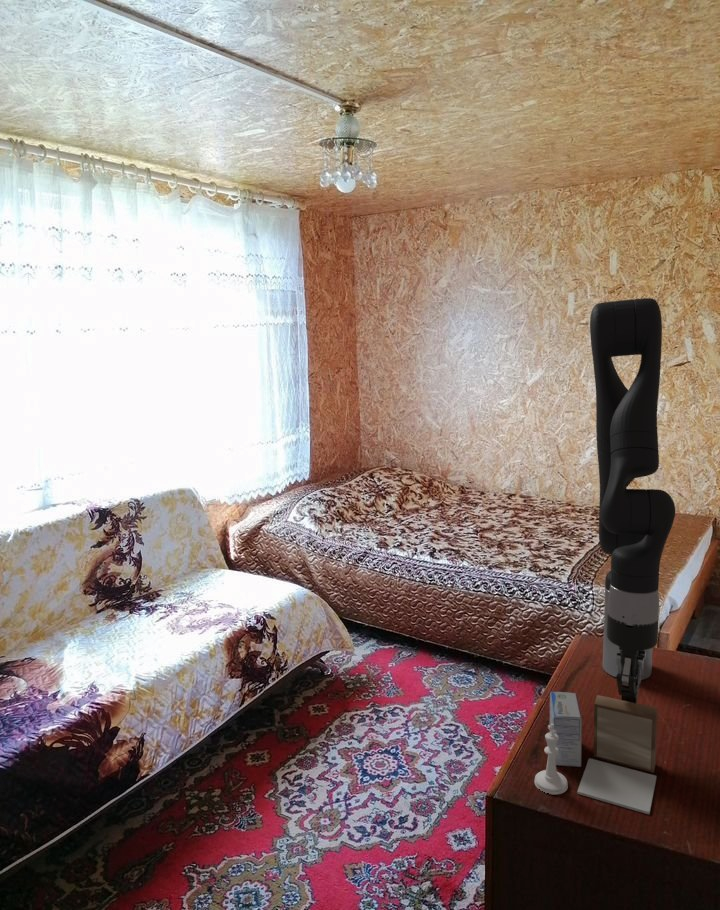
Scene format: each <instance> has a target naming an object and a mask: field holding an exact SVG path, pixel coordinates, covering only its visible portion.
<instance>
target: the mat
mask: <svg viewBox="0 0 720 910" xmlns="http://www.w3.org/2000/svg"><path fill="white" fill-rule="evenodd" d="M582 774H583V775H582V777H581V780H580V781H579V786H578V788H577V791H576V794H577V795H580V796H584V797H587V798H589V799H594V800H597V801H601V802H604V803H608V804H611V805H615V806H618V807H622V808H624V809H629V810H631V811H636V812H638V813H642V814H645V815H650V813H651V808H652V803H653V799H654V798H653V797H654V793H655V787H656V783H657V775H655V774H650V773H647V772H643V771H641V770H640V771H639V770H637V769H632V768H628V767H626V766H620V765H617V764H614V763H613V764H612V763H611V762H610V763H609V762H606V761H601V760H598V759H594V758H591V757H589V758H588V759H587V763H586V766H585V769H584V771H583V773H582Z"/></svg>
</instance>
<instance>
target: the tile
mask: <svg viewBox="0 0 720 910" xmlns="http://www.w3.org/2000/svg"><path fill="white" fill-rule="evenodd" d="M593 704H594V706H593V707H594V708H593V712H594V713H593V758H596V759H600V760H603V761H605V762H606V761H607V762H610V763H613V764H614V763H615V764H618V765H622V766H624V767H630V768H633V769H636V770H637V769H638V770H640V771H645V772H650V773H655V768H656V762H657V737H658V715H659V714H658V712H659V708H658V707H655V706H650V705H644V704H641V703H638V702H637V703H632V702H628V701H623V700H621V699H618V698H613V697H609V696H604V695H599V694H597V695H596V698H595V701H594V703H593Z"/></svg>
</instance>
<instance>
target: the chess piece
mask: <svg viewBox="0 0 720 910" xmlns="http://www.w3.org/2000/svg"><path fill="white" fill-rule="evenodd" d="M547 729H548V730H550V731H549V732H547V733H546V734H545V735H544V738H545V741H546V744H547V746H545V747H544V753H545V754H547V762H546V768H545V769H543V770H541V771H539V772H538V773H536V774H535V776H534V785H535V787H536V788H537V789H538V790H539V789H540V790H539V791H540V792H542V791H543V792H542V793H544V792H545V794H547V793H549V794H548V795H557V796H558V795H562V794H563V793H565V792H566V791H567V790H568V788H569V784H568V780H567V778H566V776H565V775H563V774H562V773H561V772H558V771H557V765H556V762H555V755H558V754H559V750H558V749H557V748H556V744H557V742H558V740H559V736H558V735H557V734H556V732H557V731H556V730H555V729H554V724H553V723H552V724H550V723H549V724H548V725H547Z"/></svg>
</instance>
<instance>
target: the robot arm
mask: <svg viewBox="0 0 720 910" xmlns="http://www.w3.org/2000/svg"><path fill="white" fill-rule="evenodd" d="M589 332H590V333H589V334H590V343H591V344H590V345H591V347H590V348H591V353H592V363H593V373H594V384H595V385H594V386H595V399H596V400H595V401H596V403H595V404H596V405H595V406H596V409H595V411H596V416H595V417H596V418H595V420H596V422H595V424H596V425H595V426H596V429H595V430H596V451H597V462H598V474H599V475H598V476H599V477H598V479H599V505H598V506H599V507H598V508H599V509H598V511H599V512H598V542H599V546H600V549H601V551H602V552H603V553H605V554H607V555H611V557H610V571H608V572H607V573H606V575H605V579H604V580H605V581H604V583H605V584H604V608H603V609H604V616H603V617H604V618H603V638H602V639H603V643H602V644H603V646H602V669H603V671H605V673H606V674H608V675H610V676H612V677H614V678H615V679H616V684H617V685H616V686H617V692H618V695H619V696H621V698H620V700H623V701H628V702H632V703H637V704H638V695H639V691H640V685H641V682H642V681H643V680H646V679H648V678H650V676H651V675H652V665H653V648H655V646H657V644H658V640H659V639H658V638H659V619H660V617H659V615H660V595H659V583H660V581H659V580H660V566H661V560H662V559H661V558H662V554H663V551H664V548H665V545H666V542H667V540H668V537H669V535H670V533H671V530H672V527H673V525H674V521H675V519H676V518H675V516H676V505H675V502H674V500H673V498H672V496H671V495H670V494H669V493H668V492H666V491H665V490H663V489H655V488H654V489H653V488H651V489H647V488H646V489H644V488H642V489H641V488H628V487H629V485H630V484H631V483H632V482H633V481H634V480H635V479H638V478H642V477H643V478H644V477H647V476H652V475H653V474H655V473H656V472H657V471H658V469H659V465H660V456H659V455H660V454H659V453H660V452H659V437H658V406H659V405H658V403H659V391H660V381H661V366H662V364H661V362H662V361H661V360H662V348H663V347H662V346H663V345H662V343H663V342H662V341H663V340H662V339H663V322H662V312H661V308H660V305H659V302H658V301H657V300H656V299H655V298H650V297H649V298H647V297H646V298H643V297H642V298H633V299H622V300H613V301H606V302H605V301H603V302H600V303H596V304H595V305H594V306H593V308H592V309H591V312H590V317H589ZM635 355H637V356H638V355H639V356H641V357H640V365H639V368H638V371H637V374H636V376H635V378H634V380H633V381H632V384H631V385H630V387H629V389H628V388H627V387H626V385H625V384H624V382H623V381H622V379H621V378H620V376H619V373H618V371H617V369H616V368H615V365H614V362H613V359H612V358H615V357H626V356H627V357H628V356H635Z"/></svg>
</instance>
